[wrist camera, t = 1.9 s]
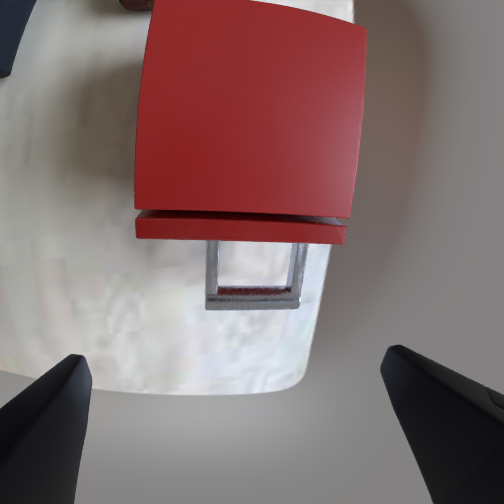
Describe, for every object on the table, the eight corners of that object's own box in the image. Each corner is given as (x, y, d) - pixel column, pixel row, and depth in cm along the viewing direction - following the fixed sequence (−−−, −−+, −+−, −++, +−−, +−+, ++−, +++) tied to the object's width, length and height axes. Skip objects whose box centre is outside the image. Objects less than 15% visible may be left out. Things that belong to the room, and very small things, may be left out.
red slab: (281, 274, 20) (321, 344, 13) (163, 272, 19) (146, 348, 12) (291, 191, 18) (348, 226, 11) (162, 185, 17) (134, 217, 10)
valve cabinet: (291, 186, 18) (350, 219, 11) (163, 180, 17) (134, 209, 10) (303, 66, 15) (367, 27, 8) (173, 54, 14) (155, -4, 7)
